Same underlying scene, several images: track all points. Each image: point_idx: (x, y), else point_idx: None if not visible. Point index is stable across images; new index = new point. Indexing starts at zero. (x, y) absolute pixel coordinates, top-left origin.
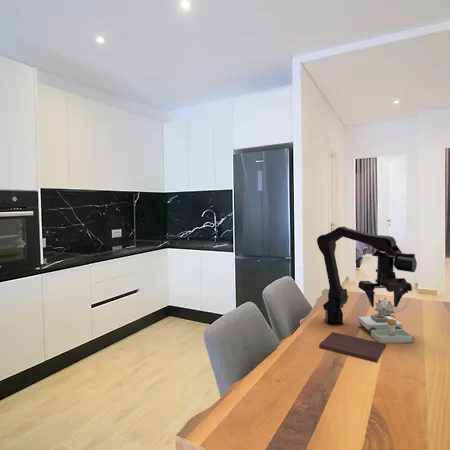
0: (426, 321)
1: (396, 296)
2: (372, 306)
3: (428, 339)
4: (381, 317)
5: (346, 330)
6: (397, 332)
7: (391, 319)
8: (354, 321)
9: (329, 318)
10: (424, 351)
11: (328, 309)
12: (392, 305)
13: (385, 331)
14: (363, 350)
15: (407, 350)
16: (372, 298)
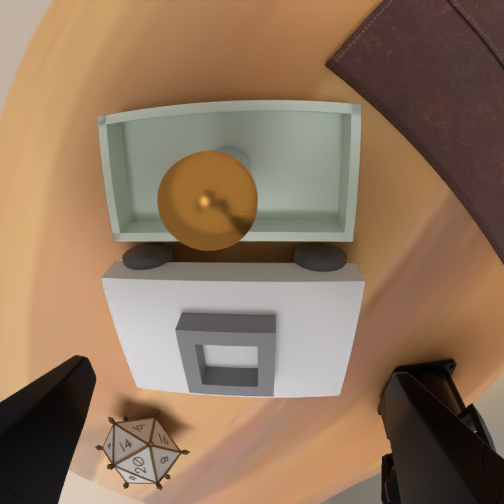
0: (17, 350)
1: (21, 469)
2: (412, 378)
3: (34, 170)
4: (205, 373)
5: (425, 306)
6: (159, 225)
7: (192, 238)
8: (315, 398)
9: (451, 388)
10: (122, 7)
11: (480, 417)
12: (105, 451)
13: None
14: (490, 14)
15: (212, 6)
16: (482, 465)
